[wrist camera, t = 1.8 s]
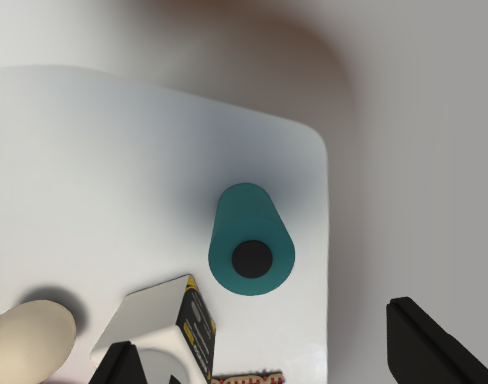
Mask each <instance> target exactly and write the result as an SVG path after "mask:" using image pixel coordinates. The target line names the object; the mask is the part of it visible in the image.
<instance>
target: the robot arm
mask: <svg viewBox="0 0 488 384" xmlns="http://www.w3.org/2000/svg"><path fill="white" fill-rule="evenodd" d="M386 310H387V311H386V313H387V357H388V358H387V360H388V366H389V369H390V371H391V373H392V375H393V377H394V378H395V380H396V381H397V383H398V384H488V369H487V368H486V367H485V366H484V365H483V364H482V363H481V362H480V361H479V360H478V359H477V358H475V357H474V356H473V355H472V354H471V353H470V352H469V351H468V350H467V349H466V348H465V347H464V346H463V345H462V344H461V343H460V342H459V341H457V340H456V339H455V338H454V337H453V336H451V335H450V334H448V333H446V332H445V331H444V330H443V329H442V328H441V327H440V326H439V325H438V324H437V323H436V322H435V321H434V320H433V319H432V318H431V317H430V316H429V315H428V314H426V313H425V312H424V311H423V310H422V309H421V308H420V307H419V306H418V305H417V304H416V303H415V302H414V301H413V300H412V299H411V298H409V297H401V298H395V299H391V300H390V304H387V307H386ZM89 384H148V383H147V380H146V377H145V373H144V370H143V367H142V364H141V360H140V357H139V354H138V351H137V347H136V345H135V344H132V343H131V342H130V341H122V342H116V343H112V344H111V346H110V347H109V349H108V350H107V352H106V354H105V356H104V357H103V359H102V361H101V363H100V364H99V366H98V368H97V370H96V371H95V373H94V375H93V377H92V378H91V380H90V382H89Z"/></svg>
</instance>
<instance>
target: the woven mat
mask: <svg viewBox="0 0 488 384" xmlns="http://www.w3.org/2000/svg"><path fill="white" fill-rule="evenodd" d="M282 380H283V374H282V373H281V374H273V375H270V376H269V377H268V378H267V376H264V377H263V378H261V377H260V376H255V375H251V376H239V377H231V378H228V379H227V380H225V381H224V380H220V382H219V381H217V380H215V379H212V381H211V384H282ZM276 381H278V382H276Z"/></svg>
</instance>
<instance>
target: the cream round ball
mask: <svg viewBox="0 0 488 384" xmlns="http://www.w3.org/2000/svg"><path fill="white" fill-rule="evenodd" d="M75 338H76V325H75V321H74V318H73V316H72V314H71V313H70V312H69V311H68V310H67V309H66V308H65V307H63V306H62V305H60V304H58V303H55V302H52V301H48V300H37V301H30V302H27V303H24V304H21V305H18V306H16V307H14V308H12V309H10V310H8V311H7V312H5V313H3V314H2V315H0V384H39V383H41V382H42V381H44V380H45V379H47V378H48V377H50V376H51V375H52V374H53V373H54V372H56V371H57V370H58V369H59V368H60V367H61V366H62V365H63V363H64V362H65V361H66V359H67V358H68V356H69V354H70V352H71V350H72V348H73V345H74V342H75Z"/></svg>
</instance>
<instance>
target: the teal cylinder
mask: <svg viewBox="0 0 488 384" xmlns="http://www.w3.org/2000/svg"><path fill="white" fill-rule="evenodd" d="M208 260H209V266H210V270H211V272H212V274H213V276H214V277H215V279H216V280H217V281H218V282H219V283H220V284H221V285H222V286H223V287H224V288H226V289H227V290H229V291H231V292H234V293H236V294H240V295H246V296H254V295H261V294H265V293H268V292H270V291H272V290H274V289H276V288H277V287H279V286H280V285H281V284H282V283H283V282H284V281H285V280H286V279H287V277H288V276H289V275H290V273H291V271H292V268H293V266H294V262H295V249H294V245H293V242H292V240H291V238H290V236H289V234H288V232H287V230H286V228H285V226H284V224H283V222H282V220H281V218H280V216H279V214H278V212H277V210H276V208H275V206H274V204H273V202H272V200H271V199H270V197H269V195H268V194H267V192H266V191H265V190H263V189H262V188H261V187H259V186H257V185H254V184H249V183H242V184H237V185H234V186H232V187H230V188H229V189H227V190H226V191H225V192H224V193H223V195H222V196H221V198H220V200H219V203H218V207H217V212H216V217H215V222H214V227H213V233H212V238H211V243H210V248H209V254H208Z"/></svg>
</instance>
